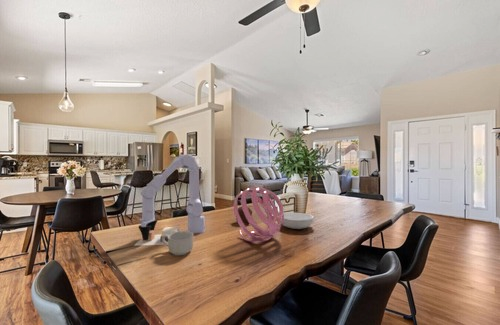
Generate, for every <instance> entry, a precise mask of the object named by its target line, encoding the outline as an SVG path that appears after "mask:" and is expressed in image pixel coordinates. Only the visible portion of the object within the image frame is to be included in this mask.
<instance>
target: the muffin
mask: <svg viewBox="0 0 500 325" xmlns="http://www.w3.org/2000/svg"><path fill="white" fill-rule="evenodd" d="M237 208H238V212H239V215H240V218H241V220H242V222H243V223H244V225H248V224H250V223H249V222H248V220H247V218H246V217H245V214H244V212H243V209H242V206H240V207H237ZM247 208H248V210H249V213H250V215H251V216H252V215H253V210H252V209H251V208H250V207H248V206H247ZM235 220H236V223H237V224H238V225H239V223H238V221H237V219H236V218H235Z"/></svg>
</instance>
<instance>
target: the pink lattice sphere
mask: <svg viewBox="0 0 500 325" xmlns="http://www.w3.org/2000/svg"><path fill="white" fill-rule="evenodd" d="M250 190H252V191H250ZM258 193H259V194H261V195H262V196H261V197H262V198H261V197H260V196H259V195H258ZM240 195H241V198H240V203H241V207H242V209H243V212H244V214H245V217H246V218H247V220H248V222H249V224H250V226H251V227H252V228H253V229H254V230H255V231H252V230H249V229H248V228H247V226H246V224H244V223H243V222H242V220H241V218H240V215H239V212H238V208H239V207H238V199H239V197H240ZM247 195H248V196H249V197H251V203H252V206H253V209H254V211H255V213H256V215H257V216H258V218H259V219H260V220H261V221H262V222H263V223H264V224H265V225H266V226H267V228H266V229H265V230H264V229H263V228H262V227H261V226H260V225H259V224H257V222H256V221H255V220H254V218H253V217H252V216H251V215H250V213H249V210H248V208H249V207H248V205H247ZM270 196H271V197H272V198H273V199H274V201H275V202H276V204H277V206H276V204H275V202H274V201H273V199H272V198H271V197H270ZM259 204H260V205H261V207H262V208H263V210H264V211H265V213H266V215H265V214H264V212H263V211H262V209H261V207H260V205H259ZM247 207H248V208H247ZM278 207H279V210H280V211H279V210H278ZM233 213H234V215H235V220H236V219H237V220H236V222H237V221H238V223H239V224H238V223H237V224H238V225H239V227H240V228H241V230H242V231H243V232H244V233H245V234H246V235H247V237H249V238H246V237H245V236H244V234H243V233H242V231H241V230H240V229H239V230H238V233H239V235H240V237H241V238H242V239H243V240H244V241H247V242H248V243H249V242H250V243H256V242H257V243H258V242H259V243H265V242H267V241H269V240H271V239H272V238H273V237H275V236H276V235H278V233H279V232H280V230H281V228H282V226H283V221H284V213H285V210H284V205H283V203H282V201H281V200H280V198H279V196H278V195H277V194H276V193H274V192H273V191H271V190H269V189H267V188H265V187H263V186H262V187H261V186H257V187H253V186H252V187H248V188H246V189H245V190H243V191H241V192H239V193H238V194H237V195H236V196H235V198H234V200H233ZM281 217H282V221H281V219H280V218H281ZM276 221H277V223H276Z"/></svg>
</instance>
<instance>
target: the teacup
mask: <svg viewBox="0 0 500 325" xmlns="http://www.w3.org/2000/svg"><path fill="white" fill-rule="evenodd" d="M165 237H167V238H168V243H167V242H166V241H165ZM162 242H163V243H164V244H165V245H164V246H166V247H167V248H168V251H169V252H170V253H172V255H174V256H179V257H180V256H185V255H187V254H188V253H189V252H190V251H191V250H193V246H194V233H191V232H188V231H187V230H181V231H180V230H179V232H174V233H172V234H170V235H164V236H163V237H162Z"/></svg>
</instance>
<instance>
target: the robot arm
mask: <svg viewBox="0 0 500 325" xmlns="http://www.w3.org/2000/svg"><path fill="white" fill-rule="evenodd" d="M183 167H184V168H185V169H186V170H187V171H188V173H189V178H188V179H189V182H188V183H189V185H188V188H189V189H188V190H189V192H188V193H189V199H188V200H187V205H186V207H185V209H186V213H187V230H186V231H188V232H191V233H193V234H204V233H205V231H206V223H205V222H206V218H205V215H202V214H203V213H204V209H203V207H202V202H201V200H200V167H199V165H198V163H197V161H196V158H195V157H194V156H193V155H192V154H189V153H187V154H179V155H178V156H177V157H175V158H174V159H173V160H172V162H171V163H170V164H169V165H168V166H167V167H166V169H164V171H163V172H162V173H160V174H157V175H154V176H152V177H153V179H152V180H151V181H150V182H149V183H147V184H146V186H144V187H143V188H142V189H141V191H140V195H141V196H142V197H141V199H142V201H141V218H140V219H139V221H140V225H138V230H139V231H140V233H141V238H142V237H143V240H148V238H149V232H150V230H154V231H155V228H156V225H157V223H158V220H157V219H156V216H155V197H156V195H157V192H158V191H159V190H160V189H161V188H162V187H163V186H164V185H165V184H166V182H167V179H168V177H170V175H172V174H173V173H174V171H176V170H177V169H180V168H183Z"/></svg>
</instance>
